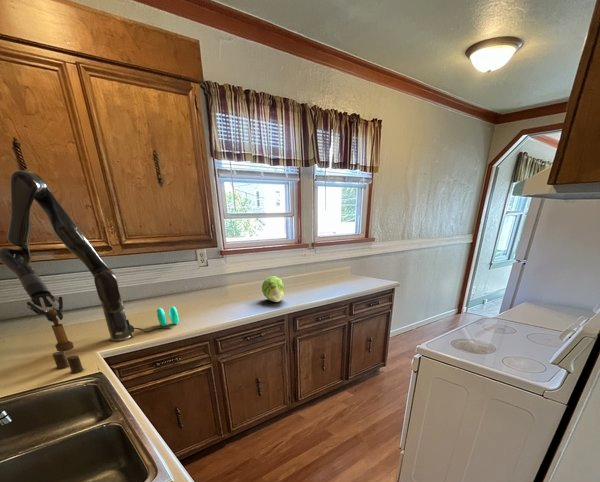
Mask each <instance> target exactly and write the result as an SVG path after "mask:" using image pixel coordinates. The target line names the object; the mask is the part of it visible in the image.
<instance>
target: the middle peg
mask: <svg viewBox="0 0 600 482" xmlns="http://www.w3.org/2000/svg"><path fill="white" fill-rule="evenodd" d="M52 356H53V360H54V362H55V366H56V369H59V370H61V369H66V368H68V367H70V366H69V363H68V360H67V356H66V353H65V351H56V352H53V353H52Z"/></svg>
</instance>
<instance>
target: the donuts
mask: <svg viewBox="0 0 600 482" xmlns="http://www.w3.org/2000/svg"><path fill="white" fill-rule="evenodd" d="M168 311H169V312H168V314H169V318H170V321H171V323H172V324H174V325H178V324H179V322H180V319H179V314H178V310H177V308H176V307H175V306H170V307H169V310H168ZM156 317H157V320H158V323H159V325H160V326H161V327H165V326H166V325H167V316H166V312H165V311H164V309H163V308H161V307H158V308H156Z"/></svg>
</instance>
